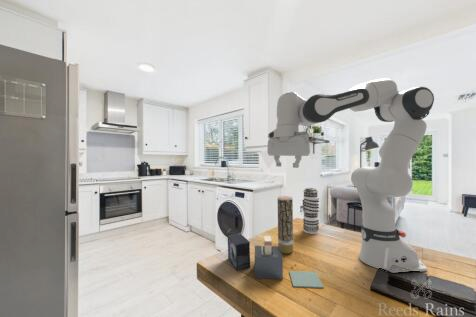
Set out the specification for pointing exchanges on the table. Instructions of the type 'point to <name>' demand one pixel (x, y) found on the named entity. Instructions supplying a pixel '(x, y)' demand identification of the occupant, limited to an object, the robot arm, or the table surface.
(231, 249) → the small box
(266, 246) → the white block
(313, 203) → the black white cylinder
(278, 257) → the dispenser
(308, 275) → the mat
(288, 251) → the paper tube
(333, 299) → the table surface
